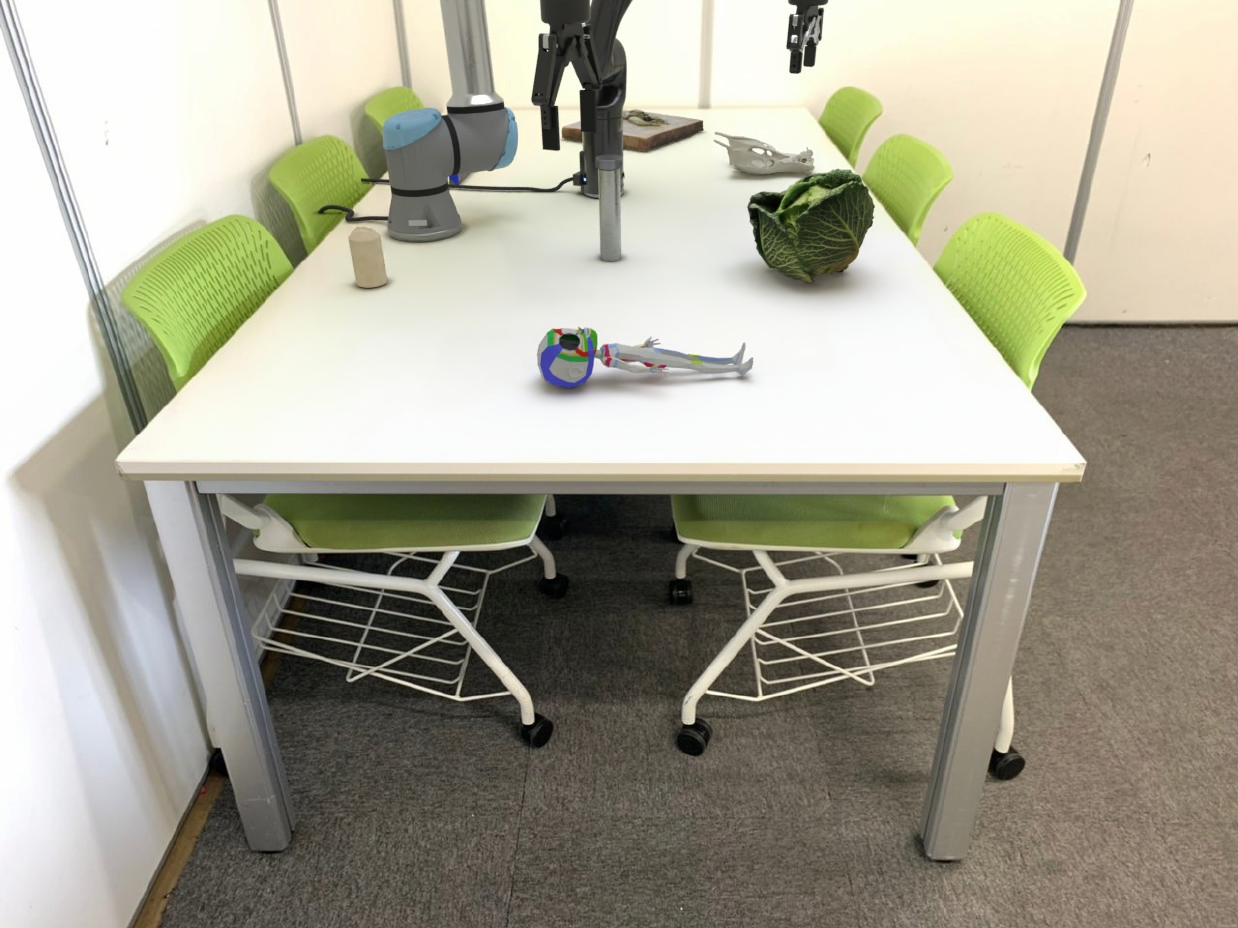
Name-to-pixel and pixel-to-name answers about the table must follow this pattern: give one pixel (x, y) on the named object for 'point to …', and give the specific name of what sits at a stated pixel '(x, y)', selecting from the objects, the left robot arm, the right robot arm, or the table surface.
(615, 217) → the grey long cylinder
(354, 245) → the candle
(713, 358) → the toy
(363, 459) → the table surface
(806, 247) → the vegetable
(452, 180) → the pillar
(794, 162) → the anatomical model
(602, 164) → the lid
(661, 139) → the plaque
